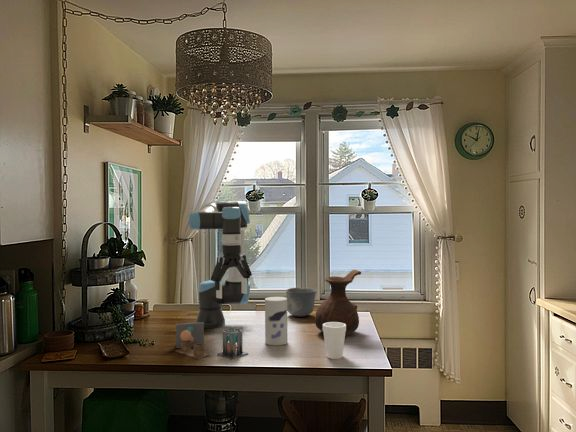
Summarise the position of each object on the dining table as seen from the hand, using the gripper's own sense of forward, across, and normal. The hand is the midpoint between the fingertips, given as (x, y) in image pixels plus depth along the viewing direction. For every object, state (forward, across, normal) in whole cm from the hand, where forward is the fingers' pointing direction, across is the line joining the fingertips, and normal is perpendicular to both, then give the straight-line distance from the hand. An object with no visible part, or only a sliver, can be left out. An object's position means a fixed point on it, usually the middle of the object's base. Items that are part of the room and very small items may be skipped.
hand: (232, 295), depth 198 cm
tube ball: (+22, 0, +1) cm, 22 cm away
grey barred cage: (+24, 0, 0) cm, 25 cm away
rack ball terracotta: (+18, -10, +18) cm, 28 cm away
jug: (+25, +56, -12) cm, 62 cm away
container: (+25, +25, -1) cm, 35 cm away
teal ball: (+17, 0, -1) cm, 17 cm away
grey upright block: (+24, -4, +24) cm, 34 cm away
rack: (+24, -10, +14) cm, 30 cm away
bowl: (+25, +72, +25) cm, 80 cm away
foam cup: (+25, +26, -33) cm, 49 cm away
